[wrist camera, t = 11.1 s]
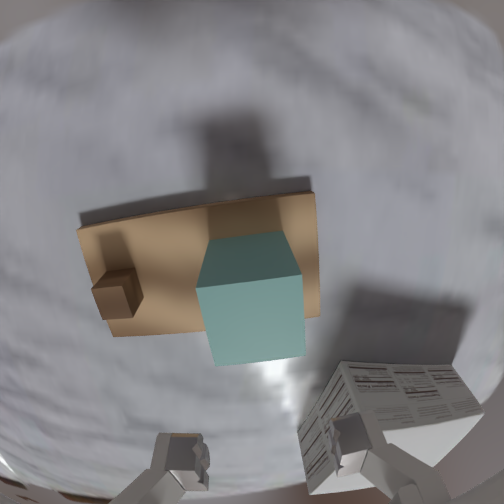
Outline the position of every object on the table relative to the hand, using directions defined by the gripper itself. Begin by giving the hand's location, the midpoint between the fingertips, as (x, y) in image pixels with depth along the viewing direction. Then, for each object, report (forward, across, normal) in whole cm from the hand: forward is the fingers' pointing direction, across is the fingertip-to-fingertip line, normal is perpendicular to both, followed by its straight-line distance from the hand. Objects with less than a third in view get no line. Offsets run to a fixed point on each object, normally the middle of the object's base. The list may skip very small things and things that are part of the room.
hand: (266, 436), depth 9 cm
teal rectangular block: (+14, 0, 0) cm, 14 cm away
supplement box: (+15, -13, +20) cm, 29 cm away
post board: (+15, +4, 0) cm, 16 cm away
